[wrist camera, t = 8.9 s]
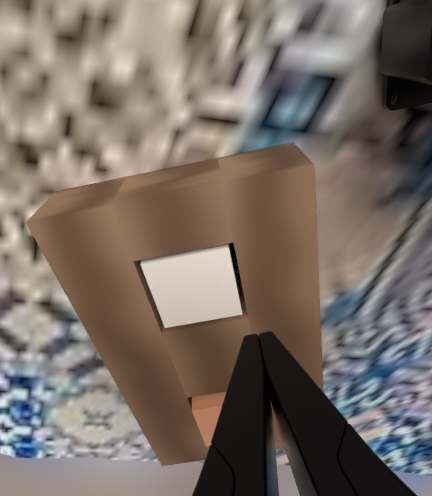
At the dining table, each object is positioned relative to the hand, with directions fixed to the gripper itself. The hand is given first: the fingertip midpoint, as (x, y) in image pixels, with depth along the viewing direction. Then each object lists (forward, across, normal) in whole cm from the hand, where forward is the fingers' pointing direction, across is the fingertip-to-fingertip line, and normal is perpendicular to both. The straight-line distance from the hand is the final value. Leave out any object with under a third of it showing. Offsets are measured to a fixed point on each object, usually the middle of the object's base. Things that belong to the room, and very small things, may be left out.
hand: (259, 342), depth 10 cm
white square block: (+12, +3, +4) cm, 13 cm away
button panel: (+12, +3, +10) cm, 16 cm away
